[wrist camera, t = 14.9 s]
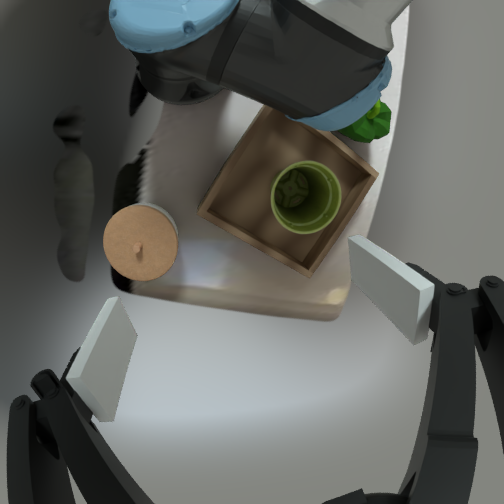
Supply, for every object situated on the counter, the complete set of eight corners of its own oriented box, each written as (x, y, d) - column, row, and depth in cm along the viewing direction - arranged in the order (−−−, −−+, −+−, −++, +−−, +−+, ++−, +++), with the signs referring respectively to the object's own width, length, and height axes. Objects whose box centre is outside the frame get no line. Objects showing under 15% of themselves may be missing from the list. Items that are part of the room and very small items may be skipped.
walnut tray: (198, 207, 44) (196, 214, 39) (267, 98, 40) (274, 93, 35) (300, 266, 50) (309, 278, 45) (364, 170, 46) (379, 173, 41)
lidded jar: (174, 268, 47) (167, 295, 38) (113, 252, 44) (94, 275, 36) (190, 206, 44) (185, 220, 35) (125, 189, 41) (106, 199, 33)
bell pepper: (365, 148, 44) (399, 150, 35) (322, 135, 43) (350, 133, 34) (372, 103, 42) (406, 96, 32) (329, 88, 40) (358, 76, 31)
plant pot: (328, 197, 45) (352, 209, 37) (279, 229, 46) (294, 247, 38) (299, 147, 42) (320, 147, 33) (247, 179, 42) (256, 186, 34)
